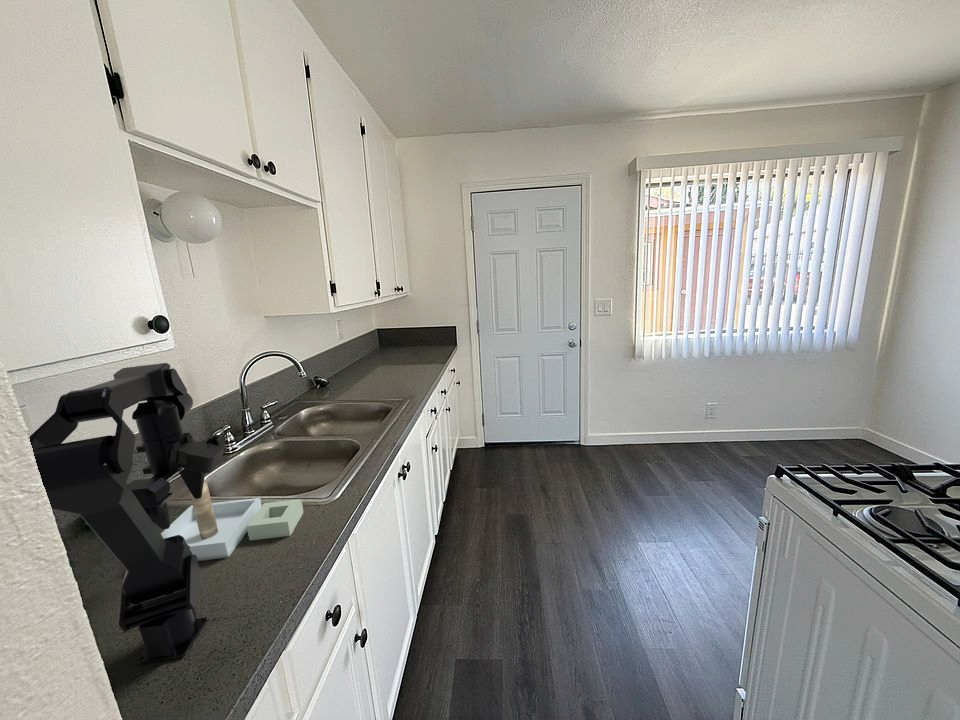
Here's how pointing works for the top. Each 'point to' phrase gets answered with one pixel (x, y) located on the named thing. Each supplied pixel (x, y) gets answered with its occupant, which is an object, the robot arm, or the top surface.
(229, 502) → the tray
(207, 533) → the dowel
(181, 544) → the robot arm
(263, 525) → the dowel block
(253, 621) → the top surface
